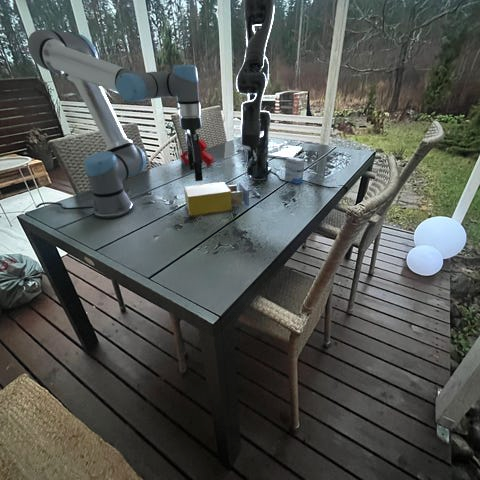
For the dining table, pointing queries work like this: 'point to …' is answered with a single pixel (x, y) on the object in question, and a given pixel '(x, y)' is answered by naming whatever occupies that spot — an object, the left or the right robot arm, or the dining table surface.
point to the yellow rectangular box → (207, 199)
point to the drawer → (241, 194)
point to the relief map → (282, 150)
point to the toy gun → (205, 156)
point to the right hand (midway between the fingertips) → (250, 174)
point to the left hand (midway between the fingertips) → (195, 175)
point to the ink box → (294, 170)
